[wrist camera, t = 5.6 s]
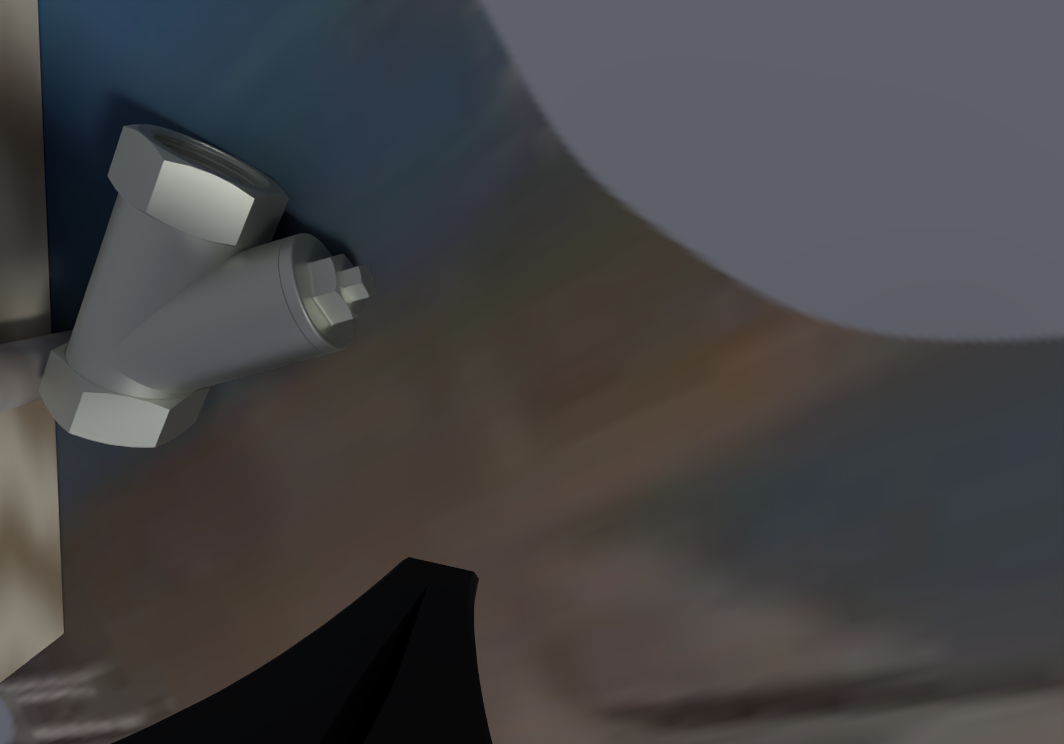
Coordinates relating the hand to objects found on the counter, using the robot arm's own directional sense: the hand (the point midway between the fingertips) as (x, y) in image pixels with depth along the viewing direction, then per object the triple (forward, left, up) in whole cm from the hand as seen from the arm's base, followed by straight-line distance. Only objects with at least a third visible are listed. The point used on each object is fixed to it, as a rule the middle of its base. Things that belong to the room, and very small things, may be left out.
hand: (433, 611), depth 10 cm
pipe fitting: (+3, +8, -8) cm, 12 cm away
